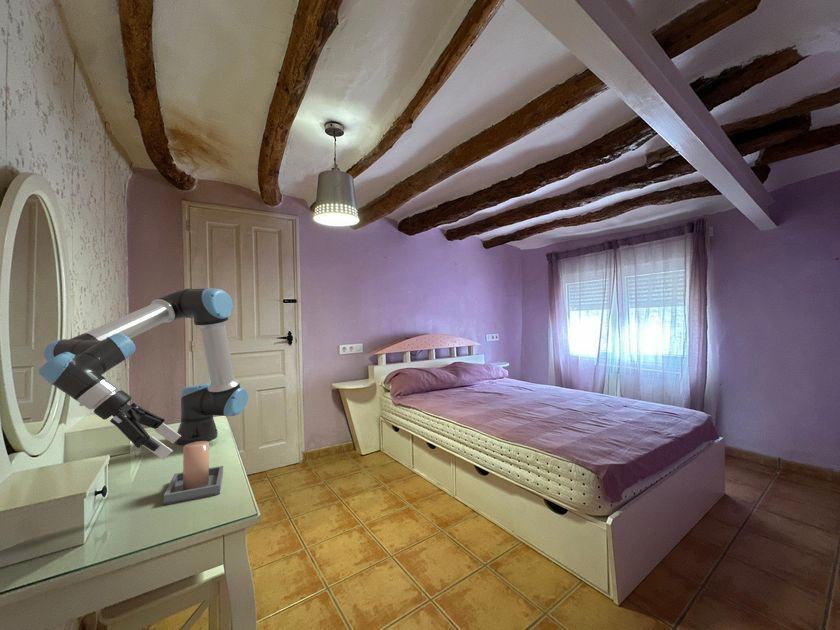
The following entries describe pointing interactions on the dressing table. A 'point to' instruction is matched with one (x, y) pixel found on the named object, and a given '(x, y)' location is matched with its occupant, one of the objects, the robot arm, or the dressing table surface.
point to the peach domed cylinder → (195, 465)
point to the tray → (179, 495)
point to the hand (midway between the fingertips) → (173, 447)
